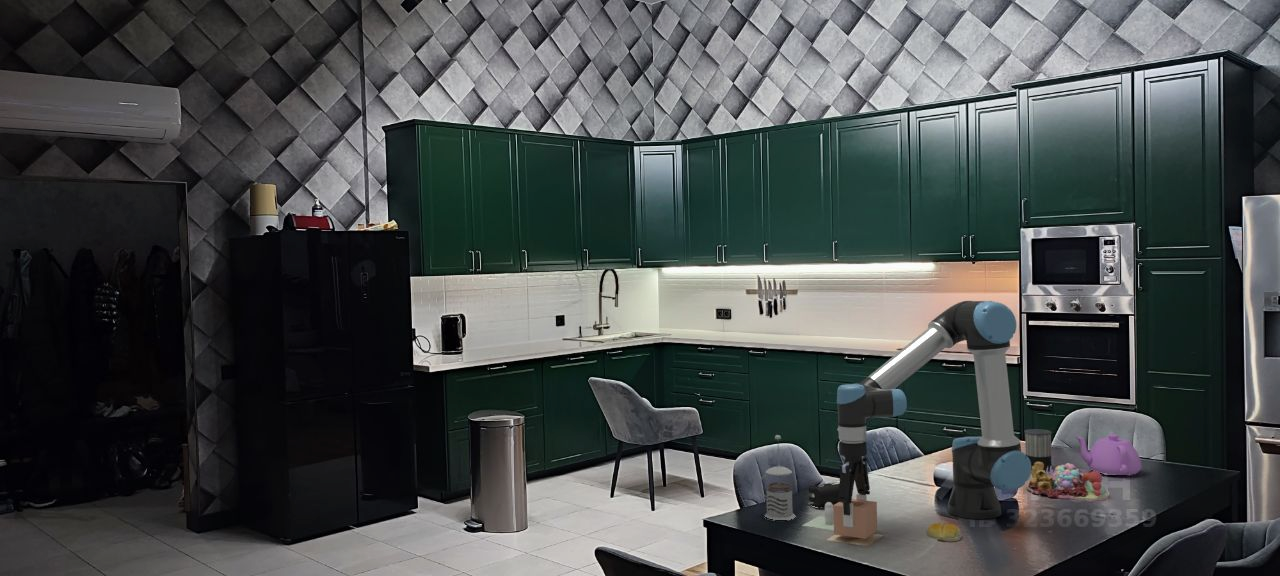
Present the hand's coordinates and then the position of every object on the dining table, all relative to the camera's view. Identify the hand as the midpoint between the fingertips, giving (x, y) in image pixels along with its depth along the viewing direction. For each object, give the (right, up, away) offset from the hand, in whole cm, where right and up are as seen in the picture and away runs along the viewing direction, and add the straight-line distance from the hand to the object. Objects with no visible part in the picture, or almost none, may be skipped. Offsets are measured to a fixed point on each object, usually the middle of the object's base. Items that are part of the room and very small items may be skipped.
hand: (855, 522), depth 253 cm
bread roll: (+25, -5, 0) cm, 25 cm away
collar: (0, -3, 0) cm, 3 cm away
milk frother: (+82, -2, +80) cm, 114 cm away
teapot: (+107, -1, +72) cm, 129 cm away
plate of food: (+81, -3, +48) cm, 94 cm away
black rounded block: (0, -5, +38) cm, 38 cm away
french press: (-18, -5, +27) cm, 33 cm away
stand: (0, -5, 0) cm, 5 cm away
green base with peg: (-4, -5, +15) cm, 16 cm away
